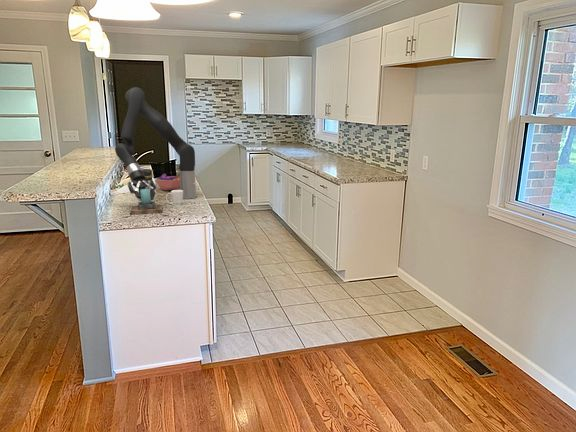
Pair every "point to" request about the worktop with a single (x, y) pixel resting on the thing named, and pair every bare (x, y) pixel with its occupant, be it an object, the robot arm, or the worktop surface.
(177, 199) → the cup
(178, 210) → the worktop surface
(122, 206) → the worktop surface
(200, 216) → the worktop surface
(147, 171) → the coffee jar
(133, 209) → the walnut base
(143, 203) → the teal peg
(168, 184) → the cell model
